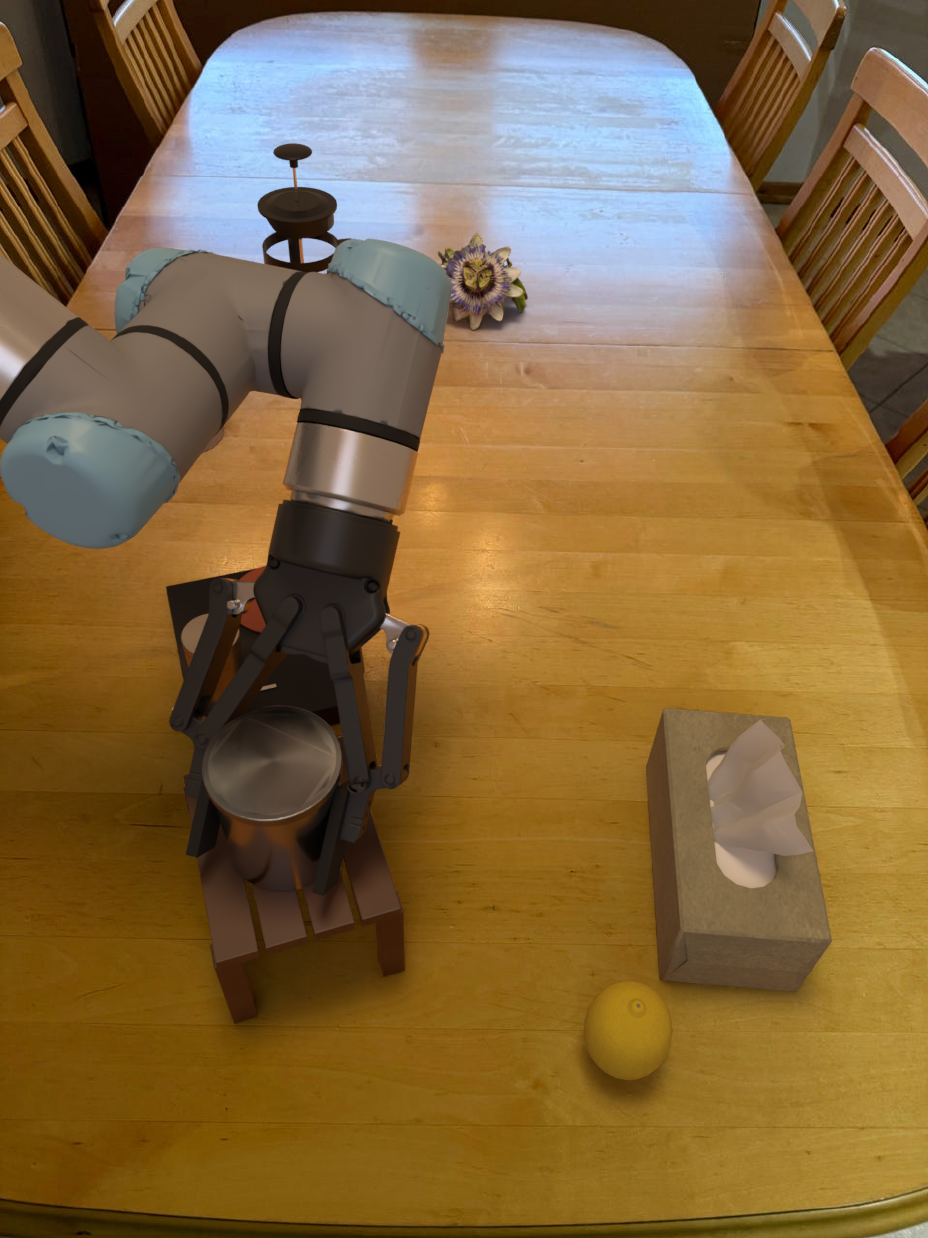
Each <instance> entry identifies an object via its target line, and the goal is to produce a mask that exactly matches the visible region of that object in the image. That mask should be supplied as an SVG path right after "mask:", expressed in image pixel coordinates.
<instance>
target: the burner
mask: <svg viewBox="0 0 928 1238" xmlns="http://www.w3.org/2000/svg"><path fill="white" fill-rule="evenodd" d="M265 567H266V565H263V566H260V567H256V568H257V569H256V568H254V569H255V570H253V571H251V572H249V573H247V574H246V575H244V576H243V577H242V578H241V579H240V580H239V581H247V582H255V581H256V579H257V578H258V577H259V576H260V574H261V573H262V572H263V570H264V569H265ZM240 624H241V625H242V626H244V627H245V628H247V629H249V630H251V631H254V632H257V633H261V632H262V630H263V629H264V628H265V626H266V624H265V622H264V619H263V617H262V614H261V612H260V609H259V607H258V604H257V602H256V599H254V600H253V601H252V603H251V605H250V608H249V610H248V612H246V613H245V614H242V618H241V623H240Z"/></svg>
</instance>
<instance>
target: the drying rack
mask: <svg viewBox="0 0 928 1238" xmlns="http://www.w3.org/2000/svg"><path fill="white" fill-rule="evenodd" d="M337 737H338V739H339V741H340V744H341V748H342V755H343V770H342V775H341V778H340V785H341V784H343V783H345V782H346V781H348V780H349V775H348V769H347V763H346V756H345V750H344V744H343V738H342V736H337ZM188 776H189V773H187V774H183V776H182V778H183V783H184V786H183V787H182V789H183V794H184V801H185V806H186V809H187V812H188V817H189V818H190V825H191V826H192V822H193V818H194V813H195V809H196V804H197V798H193V797H190V796H187V790H186V785H187V781H188ZM371 809H372V808H371ZM371 809H370V813H369V818H368V822H367V827H366V831H365V832H364V834H363V835H362V837H361V838H360V839H359V840H358V841H356V842H355V843H352V842H348V841H347V843H346V847H345V851H344V856H343V860H342V862H343V864H344V868H345V871H346V875H347V879H348V882H349V885H350V889H351V893H352V896H353V900H354V903H355V906H356V911H357V914H358V918H359V921H360V925H361V927H363V928H364V927H367V926H370V925H373V924H374V925H375V940H376V955H377V960H378V964H379V967H380V970H381V971H380V972H381V974H382V977H383V978H387V977H389V976H392V975H395V974H399V973H402V972H405V971H406V963H405V962H406V958H405V957H406V955H405V952H406V951H405V949H406V947H405V910H404V907H403V904H402V901H401V897H400V895H399V892H398V890H397V889H396V885H395V883H394V880H393V876H392V873H391V870H390V867H389V863H388V860H387V857H386V854H385V851H384V848H383V845H382V841H381V838H380V835H379V832H378V828H377V825H376V821H375V818H374V816H373V813H372V810H371ZM196 860H197V866H198V872H199V878H200V882H201V883H200V884H201V887H202V894H203V900H204V906H205V911H206V916H207V917H206V918H207V923H208V928H209V935H210V940H211V944H210V945H209V947H210V953H211V959H212V964H213V969H214V972H215V975H216V977H217V980H218V983H219V985H220V988H221V991H222V994H223V997H224V1000H225V1002H226V1005H227V1008H228V1011H229V1013H230V1017H231V1019H232V1022H233V1024H237V1023H241V1022H243V1021H247V1020H249V1019H254V1018H256V1017H258V1011H257V1006H256V1002H255V1001H256V1000H255V995H254V992H253V990H252V985H251V983H250V979H249V975H248V972H247V969H246V966H245V963H246V962H249V961H253V960H256V959H260V958H261V952H260V949H259V943H258V938H257V933H256V928H255V924H254V919H253V915H252V910H251V909H252V908H251V905H250V899H249V895H248V894H249V893H248V889H247V885H246V880H245V879H244V878H243V877H242V876H241V875H240V874H239V873H238V872H237V871H236V869H235V868H234V866H233V864H232V862H231V859H230V855H229V852H228V848H227V844H226V841H225V837H224V834H223V830H222V826H221V823H220V828H219V832H218V837H217V841H216V846H215V848H213V849H212V850H210V851H208V852H206V853H205V854H203V855H201V856H199V857H198V858H196ZM313 886H314V883H313V884H311V885H309V886H307V887H304V888H301V890H302V893H303V898H304V902H305V906H306V910H307V914H308V918H309V922H310V926H311V930H312V934H313V938H314V940H315V941H319V940H323V939H326V938H329V937H333V936H337V935H340V934H343V933H347V932H350V931H354V930H355V929H356V921H355V916H354V913H353V909H352V905H351V901H350V898H349V894H348V892H347V888H346V885H345V881H344V877H343V873H342V868H341V869H340V873H339V878H338V882H337V884H336V885H335V886H334V887H333V888H332V889H331V890H329V891H328V892H327V893H326V894H325V895H324V896H323V895H320V894H316V893H313V892H312V890H313ZM251 887H252V892H253V896H254V902H255V906H256V907H255V908H256V911H257V916H258V921H259V925H260V930H261V935H262V936H261V937H262V940H263V945H264V949H265V953H266V955H267V956H269V955H272V954H276V953H279V952H283V951H286V950H289V949H294V948H296V947H300V946H303V945H306V944H309V937H308V932H307V928H306V924H305V920H304V916H303V911H302V907H301V903H300V900H299V896H298V892H297V890H293V891H270V890H266V889H262V888H259V887H257V886H254V885H253V884H251Z"/></svg>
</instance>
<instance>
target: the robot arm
mask: <svg viewBox="0 0 928 1238" xmlns="http://www.w3.org/2000/svg"><path fill="white" fill-rule="evenodd" d="M333 253H334V255H333V258H332V261H331V263H329V264H328V269H326V273H325V272H323V273H322V272H310V273H306V272H302V271H297V270H292V269H287V268H282V267H277V266H272V265H267V264H264V263H261V262H256V261H252V260H247V259H242V258H237V257H232V256H227V255H222V254H217V253H214V252H212V251H208V250H204V249H198V250H195V249H177V248H168V247H162V246H161V247H160V246H159V247H151V248H147V249H145V250H142V251H141V252H139V253H137V254H136V255H135V256H134V257H133V258H132V259H131V260H130V262H128V264H127V266H126V267H125V272H124V281H121V282H119V284H118V286H117V289H116V293H115V299H114V315H113V316H114V317H113V319H114V325H115V332H116V334H115V336H114V337H112V338H111V339H110V340H109V339H108V338H107V337H106V336H104V335H103V334H102V333H101V332H99V331H98V330H97V329H96V328H94V327H93V326H92V325H91V324H89V323H87V321H85V320H84V319H82V318H81V317H79V316H77V315H76V314H75V313H74V312H73V311H71V310H70V309H69V308H67V307H66V306H65V305H64V304H63V303H62V302H60V301H59V300H58V299H57V298H55V297H54V296H53V295H52V294H50V293H49V292H48V291H47V290H46V289H44V288H43V287H42V286H40V285H39V284H38V283H37V282H35V280H33V279H32V278H30V277H29V276H28V275H27V274H25V273H24V272H23V271H22V270H21V269H20V268H18V267H17V266H16V265H15V264H13V263H12V262H11V261H10V260H8V259H7V258H6V257H5V256H4V255H2V254H1V253H0V440H1V441H2V442H4V443H5V444H6V445H5V446H4V449H3V451H2V452H1V456H0V478H1V481H2V484H3V486H4V489H5V491H6V493H7V494H8V496H9V498H10V500H12V501H13V502H14V503H17V504H19V505H21V506H22V507H23V509H24V510H25V511H24V513H25V517H26V518H27V519H28V520H29V521H30V522H31V523H32V524H33V525H34V526H36V527H37V528H38V529H40V530H42V531H43V532H44V533H46V534H48V535H50V536H52V537H53V538H55V539H57V540H59V541H62V542H63V543H66V544H69V545H71V546H75V547H79V548H84V549H92V550H105V549H110V548H115V547H118V546H120V545H122V544H124V543H126V542H128V541H129V540H132V539H133V538H134V537H135V536H137V535H138V534H139V532H141V530H142V529H143V528H144V527H145V526H146V525H147V523H148V522H149V521H150V520H151V519H152V518H153V516H154V515H155V514H156V513H157V512H158V511H159V510H160V509H161V507H162V506H163V505H164V504H167V503H169V502H170V501H171V500H172V499H173V498H174V496H175V495H176V493H178V489H179V484H180V483H181V482H182V480H183V479H184V478H185V477H186V475H187V474H188V472H189V470H191V469H192V467H193V466H194V464H195V463H196V462H197V460H198V459H199V458H200V456H201V455H202V452H203V451H204V449H205V448H206V447H207V445H208V444H209V443H210V441H211V440H212V439H213V437H214V436H215V435H216V434H217V433H218V432H219V431H220V430H221V429H222V428H223V427H224V428H225V425H226V424H227V423H228V422H229V420H230V419H231V418H232V416H234V414H235V412H236V411H237V410H238V408H239V407H240V406H241V404H242V403H243V402H244V401H245V399H246V398H247V397H248V396H249V394H250V393H251V392H258V393H264V394H269V395H275V396H280V397H283V398H285V399H292V400H299V399H300V406H299V407H300V408H299V412H298V415H297V419H296V426H295V430H294V433H293V439H292V443H291V446H290V447H291V448H290V451H289V457H288V460H287V463H286V464H287V465H286V469H285V472H284V477H283V482H282V485H283V486H284V488H285V489H286V490H287V491H290V498H289V499H283V500H282V503H278V506H277V509H276V515H275V519H274V524H273V529H272V533H271V537H270V542H269V546H268V552H267V561H266V565H265V566H266V567H265V569H264V570H263V572H262V573H261V574H260V576H259V577H258V578H257V579H256V581H255V582H247V581H239V580H237V579H226V578H216V579H214V580H212V582H211V583H210V586H209V613H208V617H207V620H206V623H205V625H204V628H203V631H202V633H201V636H200V639H199V641H198V644H197V647H196V649H195V652H194V655H193V657H192V660H191V663H190V665H189V668H188V671H187V673H186V676H185V679H184V681H183V682H182V684H181V687H180V690H179V692H178V695H177V696H176V697H177V698H176V700H175V702H174V705H173V707H174V708H173V711H172V710H171V714H170V716H169V721H168V722H169V727H170V728H171V730H173V731H174V732H178V733H179V732H180V733H182V734H183V735H184V736H186V737H188V738H189V740H191V742H192V744H193V753H192V759H191V763H190V768H189V772H188V774H189V776H188V781H187V785H186V790H187V796H190V797H193V798H197V804H196V809H195V813H194V818H193V822H192V825H191V827H190V831H189V837H188V841H187V845H186V850H185V854H184V855H185V856H188V857H192V858H194V859H197V858H198V857H199V856H201V855H203V854H205V853H206V852H208V851H210V850H212V849H213V848H215V846H216V841H217V837H218V832H219V828H220V819H219V815H218V812H217V808H216V806H215V805H214V804H213V802H212V801H211V799H210V798H209V796H208V794H207V791H206V788H205V785H204V781H203V776H202V763H203V758H204V755H205V752H206V749H207V747H208V745H209V743H210V742H211V740H212V739H213V737H214V736H215V735H216V733H217V732H218V731H219V730H220V729H221V728H222V727H223V726H225V725H226V724H227V723H228V722H230V721H231V720H233V719H234V718H236V717H238V716H240V715H241V714H243V713H245V712H246V711H247V709H248V708H249V706H250V705H251V703H252V702H253V700H254V699H255V698H256V696H257V695H258V693H259V692H260V690H261V689H262V687H263V686H264V684H265V683H266V682H267V680H268V679H269V677H270V676H271V674H272V673H273V671H274V670H275V668H276V667H277V666H278V664H279V663H280V662H281V661H282V660H283V659H284V658H285V657H286V656H287V655H288V654H291V655H298V654H305V655H307V656H308V657H310V658H312V659H314V660H316V661H319V662H323V663H327V664H328V667H329V673H330V677H331V679H332V680H333V682H334V687H335V694H336V700H337V706H338V712H339V719H340V724H339V725H340V731H341V737H342V738H343V744H344V750H345V756H346V763H347V769H348V775H349V780H348V781H346V782H345V783H343V784H341V785H340V786H338V787H337V788H336V789H335V793H334V797H333V802H332V806H331V811H330V815H329V819H328V824H327V828H326V833H325V837H324V842H323V846H322V850H321V855H320V859H319V864H318V868H317V873H316V877H315V882H314V886H313V890H312V892H313V893H316V894H320V895H323V896H324V895H325V894H326V893H327V892H328V891H329V890H331V889H332V888H333V887H334V886H335V885H336V884H337V882H338V878H339V873H340V869H341V870H342V864H343V856H344V851H345V847H346V843H347V841H348V842H352V843H355V842H356V841H358V840H359V839H360V838H361V837H362V835H363V834H364V832H365V831H366V827H367V822H368V818H369V813H370V809H372V804H373V801H374V795H375V792H376V791H377V790H385V789H386V790H395V789H397V788H398V787H399V786H401V785H402V784H403V783H404V782H406V781H407V780H408V779H409V776H410V773H411V772H410V771H411V760H412V759H411V758H412V747H413V746H412V744H413V731H414V719H415V718H414V717H415V707H416V706H415V705H416V704H415V703H416V694H417V693H416V690H417V677H418V665H419V661H420V659H421V656H422V655H423V653H424V651H425V648H426V645H427V643H428V641H429V638H430V630H429V628H428V627H427V625H425V624H422V623H418V624H415V623H412V622H411V621H408V620H405V619H403V618H401V617H399V616H397V615H395V614H392V613H391V609H390V605H389V602H388V590H389V589H388V588H389V584H390V580H391V576H392V572H393V567H394V564H395V563H394V562H395V558H396V554H397V549H398V545H399V540H400V536H401V531H399V525H396V524H393V522H394V517H395V516H397V517H400V516H401V515H403V514H405V513H406V508H407V504H408V499H409V495H410V491H411V486H412V483H413V479H414V478H413V477H414V474H415V470H416V465H417V461H418V456H419V452H418V451H419V448H420V444H421V439H422V438H421V437H422V434H423V429H424V427H425V421H426V417H427V413H428V409H429V405H430V401H431V397H432V393H433V388H434V386H435V381H436V377H437V373H438V369H439V366H440V361H441V357H442V354H444V352H445V344H444V340H445V335H446V327H447V322H448V315H449V309H450V304H451V303H450V298H451V292H452V287H451V281H450V279H449V277H448V276H447V274H446V272H445V270H444V269H443V268H442V267H441V266H440V265H441V264H440V263H438V262H437V261H435V260H434V258H432V257H430V256H428V255H426V254H424V253H423V252H420V251H418V250H416V249H413V248H410V247H408V246H405V245H402V244H399V243H395V242H392V241H387V240H382V239H375V238H366V239H364V240H363V239H359V238H351V239H349V240H346V241H344V242H342V243H341V244H340V245H339V246H338V247H337V248H336V249H335V248H334V252H333ZM203 453H204V452H203ZM254 599H256V602H257V604H258V607H259V609H260V612H261V614H262V617H263V619H264V622H265V624H266V626H265V628H264V629H263V630H262V632H261V633H260V635H259V636H258V638H257V639H256V641H255V642H254V644H253V645H252V647H251V649H250V654H249V655H248V657H247V658H246V660H245V661H244V663H243V664H242V666H241V667H240V669H239V670H238V672H237V673H236V674H235V676H234V677H233V679H232V680H231V682H230V683H229V685H228V686H227V688H226V689H225V691H224V692H223V694H222V695H221V697H220V698H219V699H218V701H217V702H216V704H215V705H214V707H213V708H212V710H211V711H210V713H209V714H208V716H207V717H205V716H206V714H207V711H208V708H209V706H210V703H211V700H212V698H213V695H214V692H215V690H216V687H217V684H218V682H219V679H220V677H221V674H222V671H223V669H224V666H225V663H226V661H227V658H228V655H229V653H230V650H231V647H232V645H233V642H234V640H235V637H236V634H237V632H238V629H239V626H240V623H241V618H242V614H245V613H246V612H248V610H249V608H250V605H251V603H252V601H253V600H254ZM381 630H382V631H383V632H384V634H385V637H386V639H385V640H386V641H385V648H386V650H387V651H388V652H389V653H390V654H391V656H390V660H389V664H388V673H387V684H386V686H387V687H386V700H385V713H384V725H383V738H382V739H383V740H382V752H381V753H382V754H381V765H379V763H378V762H379V761H378V756H377V751H376V745H375V744H376V743H375V737H374V731H373V725H372V718H371V712H370V707H369V700H368V699H369V698H368V694H367V687H366V682H365V671H366V667H365V661H364V654H363V648H362V647H364V646H365V645H366V644H367V643H368V642H369V641H370V640H371V639H372V638H374V637H375V636H376V635H377V634H378V633H380V631H381Z"/></svg>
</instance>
